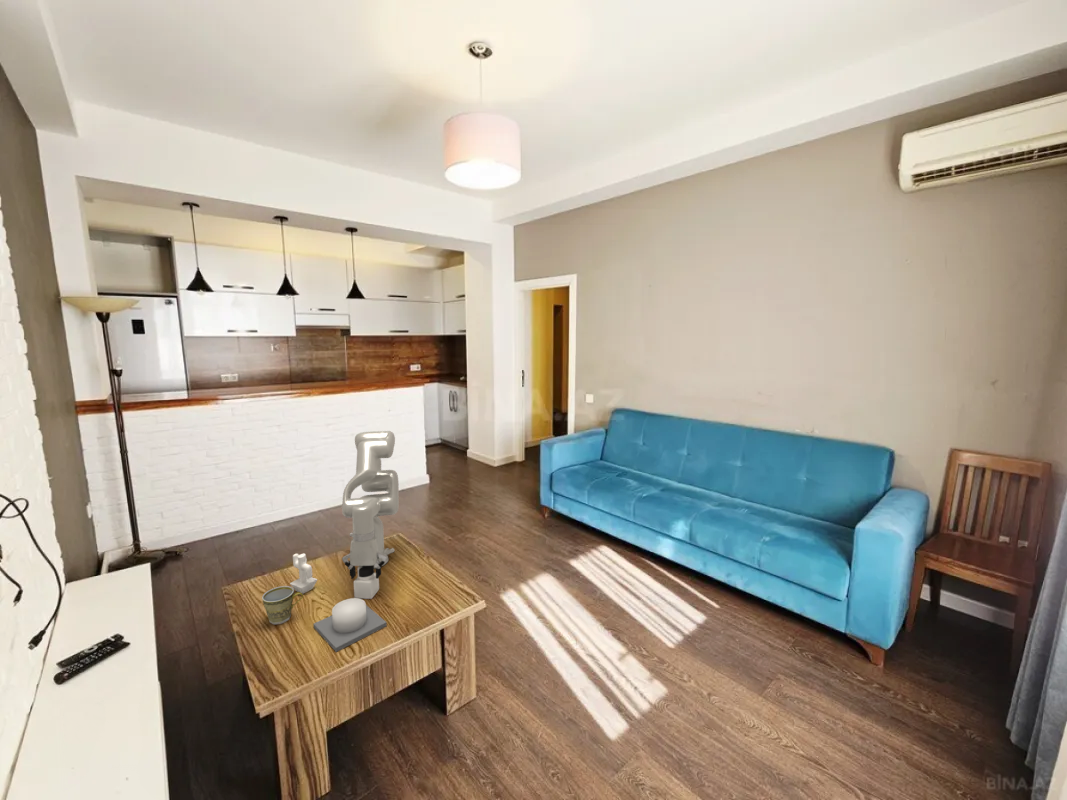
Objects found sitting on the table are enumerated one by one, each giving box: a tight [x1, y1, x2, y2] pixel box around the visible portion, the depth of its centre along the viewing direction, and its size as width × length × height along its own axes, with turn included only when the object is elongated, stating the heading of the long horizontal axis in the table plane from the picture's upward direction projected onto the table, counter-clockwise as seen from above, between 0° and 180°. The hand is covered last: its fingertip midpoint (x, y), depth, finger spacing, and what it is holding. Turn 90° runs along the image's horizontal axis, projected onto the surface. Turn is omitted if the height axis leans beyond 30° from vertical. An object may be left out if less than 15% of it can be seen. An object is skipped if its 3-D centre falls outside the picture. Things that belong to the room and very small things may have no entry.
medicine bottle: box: [353, 565, 380, 600], centre depth 179 cm, size 7×7×12 cm
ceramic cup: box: [261, 585, 304, 626], centre depth 164 cm, size 13×10×10 cm
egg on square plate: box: [313, 597, 387, 653], centre depth 159 cm, size 18×18×8 cm
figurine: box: [289, 552, 318, 595], centre depth 182 cm, size 7×9×15 cm
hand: (365, 577), depth 178 cm, fingers open, 9 cm apart
